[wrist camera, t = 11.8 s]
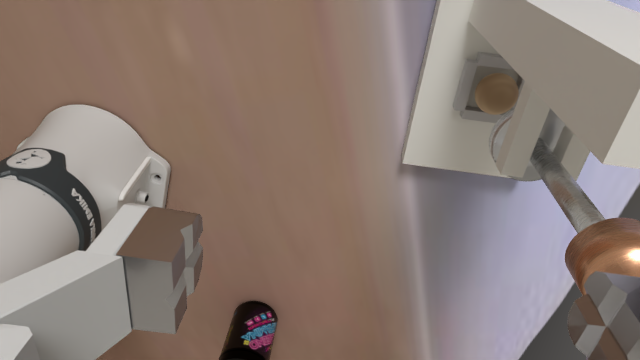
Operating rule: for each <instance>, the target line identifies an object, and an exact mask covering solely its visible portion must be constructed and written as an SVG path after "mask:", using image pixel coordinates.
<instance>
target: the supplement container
mask: <svg viewBox="0 0 640 360" xmlns="http://www.w3.org/2000/svg"><path fill="white" fill-rule="evenodd" d="M276 326H277V316H276V313H275V311H274V310H273V309H272V308H271V307H270V306H268V305H267V304H265V303H262V302H259V301H248V302H245V303H242V304H241V305H239V306H238V307H237V308H236V310H235V312H234V315H233V318H232V321H231V324H230V327H229V330H228V333H227V337H226V340H225V343H224V346H223V349H222V352H221V355H220V357H219V360H270V355H271V350H272V345H273V340H274V336H275V331H276Z"/></svg>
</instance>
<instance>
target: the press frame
mask: <svg viewBox="0 0 640 360" xmlns="http://www.w3.org/2000/svg"><path fill="white" fill-rule="evenodd" d="M493 73H503V74H506V75H508V76H510V77H512V78H513V79H514V80H515V82H516V84H517V86H518V90H519V95H518V99H517V102H516V103H515V105H514V106H513V107H512V108H511V109H513V108H515V110H514V113H513V115H512V118H511V121H510V124H509V127H508V130H507V132H506V135H505V138H504V141H503V144H502V146H501V149H500V152H499V155H498V158H497V160H496V163H495V162H494V160H493V158H492V156H491V153H490V150H489V137H490V133H491V131H492V129H493V127H494V125H495V124H496V122H497V121H498V120H499V119H500V118H501V117H502V116H503V115H504V114H505V113H507V112H508V111H507V112H505V113H503V114H498V115H492V114H488V113H485V112H484V111H482V110H481V109H480V108H479V107H478V105H477V104H476V101H475V89H476V87H477V85H478V83H479V82H480V81H481V80H482V79H483V78H484V77H486V76H487V75H490V74H493ZM550 108H551V109H552V111H553V112H554V113H555V114H556V115H557V116H558V117H559V118H560V119H561V120H562V121H563V122H564V123H565V125H564V127H563V130H562V132H561V134H560V137H559V139H558V141H557V144H556V146H555V148H554V151H553V153H554V154H555V155H556V157H557V158H558V159H559V161H560V162H561V163H562V164H563V166H564V167H565V168H566V169H567V171H568V172H569V173H570V175H571V176H572V177H573V178H574V180H575V181H576V180H577V178H578V176H579V174H580V172H581V170H582V167H583V165H584V163H585V161H586V159H587V157H588V155H589V153H590V151H591V152H592V153H593V154H594V155H595V156H596V157H597V159H598V160H599V161H600V162H601V163H602V164H607V165H615V166H622V167H630V168H637V169H640V13H639V12H636V11H634V10H631V9H628V8H626V7H623V6H620V5H618V4H615V3H612V2H610V1H607V0H437V2H436V6H435V10H434V15H433V19H432V23H431V28H430V32H429V37H428V41H427V45H426V50H425V54H424V58H423V63H422V67H421V71H420V76H419V80H418V85H417V89H416V93H415V98H414V102H413V106H412V111H411V115H410V119H409V124H408V128H407V133H406V137H405V141H404V146H403V150H402V154H401V157H402V163H403V164H409V165H417V166H424V167H432V168H439V169H447V170H454V171H461V172H469V173H476V174H484V175H491V176H499V177H506V178H510V177H508V176H514V177H521V178H523V175H524V173H525V170H526V168H527V165H528V162H529V160H530V157H531V155H532V152H533V150H534V147H535V145H536V142H537V140H538V137H539V135H540V132H541V130H542V127H543V125H544V122H545V120H546V117H547V115H548V112H549V110H550ZM511 109H510V110H511ZM510 110H509V111H510ZM506 175H507V176H506Z"/></svg>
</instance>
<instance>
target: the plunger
mask: <svg viewBox="0 0 640 360" xmlns="http://www.w3.org/2000/svg"><path fill="white" fill-rule="evenodd" d="M514 110H515V108H513V109H511V110H510V111H508V112H507V113H505V114H504V115H503V116H502V117H501V118H500V119H499V120H498V121H497V122H496V124H495V125H494V127H493V129H492V131H491V133H490V137H489V150H490V153H491V156H492V158H493V160H494V162H495V163H496V160H497V158H498V155H499V152H500V149H501V146H502V144H503V141H504V138H505V135H506V132H507V130H508V127H509V124H510V121H511V118H512V115H513V113H514ZM564 125H565V123H564V122H563V121H562V120H561V119H560V118H559V117H558V116H557V115H556V114H555V113H554V112H553V111H552V109H551V108H550V110H549V112H548V115H547V117H546V120H545V122H544V125H543V127H542V130H541V132H540V135H539V137H538V140H537V142H536V145H535V147H534V150H533V152H532V155H531V157H530V160H529V162H528V165H527V168H526V170H525V173H524V175H523V178H521V177H514V176H508V177H510V178H512V179H515V180H519V181H536V180H541V179H542V180H543V182H544V183H545V185H546V186H547V188H548V189H549V191H550V192H551V194H552V195H553V197H554V198H555V200H556V201H557V203H558V204H559V206H560V207H561V209H562V210H563V212H564V213H565V215H566V216H567V218H568V219H569V221H570V222H571V224H572V225H573V227H574V228H575V230H576V232H577V233H578V234H577V235H576V236H575V237H574V238H573V239H572V241H571V242H570V243H569V245H568V247H567V249H566V253H565V263H566V266H567V268H568V270H569V272H570V273H571V275H572V277H573V279H574V280H575V282H576V284H577V285H578V287H579V289H580V291H581V293H582V294H583V296H584V295H586V291H585V288H584V284H585V282H586V280H587V279H588V277H589V276H590V275H591V274H593V273H594V272H595V271H599V272H606V273H613V274H621V275H628V276H635V277H640V221H638V220H635V219H630V218H612V219H607V220H605V218H604V217H603V216H602V214H601V213H600V212H599V211H598V209H597V208H596V207H595V205H594V204H593V203H592V202H591V200H590V199H589V198H588V196H587V195H586V194H585V193H584V191H583V190H582V189H581V187H580V186H579V185H578V184H577V182H576V181H575V180H574V178H573V177H572V176H571V175H570V173H569V172H568V171H567V169H566V168H565V167H564V166H563V164H562V163H561V162H560V161H559V159H558V158H557V157H556V155H555V154H554V153H553V151H554V148H555V146H556V144H557V141H558V139H559V137H560V134H561V132H562V130H563V127H564ZM506 176H507V175H506Z"/></svg>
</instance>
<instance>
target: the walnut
mask: <svg viewBox="0 0 640 360" xmlns="http://www.w3.org/2000/svg"><path fill="white" fill-rule="evenodd" d="M518 95H519V90H518V86H517V84H516V82H515V80H514V79H513V78H512V77H510V76H508V75H506V74H503V73H493V74H490V75H487V76H486V77H484V78H483V79H482V80H481V81H480V82H479V83H478V85H477V87H476V89H475V101H476V104H477V105H478V107H479V108H480V109H481V110H482V111H484V112H485V113H488V114H492V115H498V114H503V113H505V112H507V111H509V110H510V109H511V108H512V107H513V106H514V105H515V103H516V102H517V99H518Z"/></svg>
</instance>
